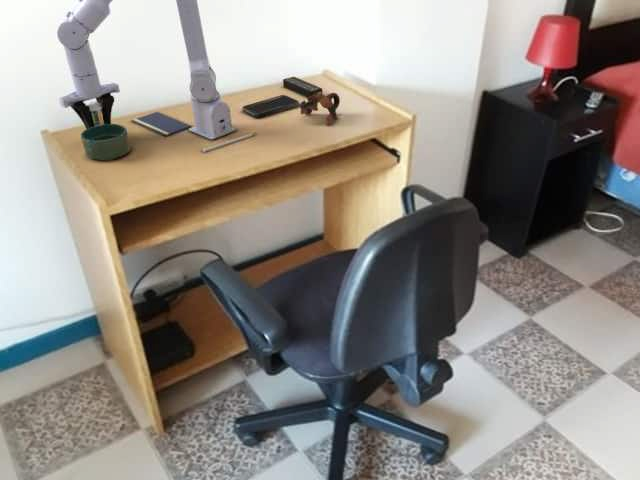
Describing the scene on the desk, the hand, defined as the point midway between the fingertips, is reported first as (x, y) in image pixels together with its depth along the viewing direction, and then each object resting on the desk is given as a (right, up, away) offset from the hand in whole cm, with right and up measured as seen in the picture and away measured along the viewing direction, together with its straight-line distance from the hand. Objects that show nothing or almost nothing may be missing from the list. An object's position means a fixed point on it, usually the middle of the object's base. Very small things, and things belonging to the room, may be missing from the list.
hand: (99, 127), depth 146 cm
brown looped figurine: (+55, +5, +14) cm, 57 cm away
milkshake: (0, -3, +2) cm, 3 cm away
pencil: (+33, -4, 0) cm, 33 cm away
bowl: (+5, -7, -5) cm, 10 cm away
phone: (+41, +10, +19) cm, 46 cm away
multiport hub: (+48, +18, +31) cm, 60 cm away
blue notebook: (+13, +3, +9) cm, 16 cm away
